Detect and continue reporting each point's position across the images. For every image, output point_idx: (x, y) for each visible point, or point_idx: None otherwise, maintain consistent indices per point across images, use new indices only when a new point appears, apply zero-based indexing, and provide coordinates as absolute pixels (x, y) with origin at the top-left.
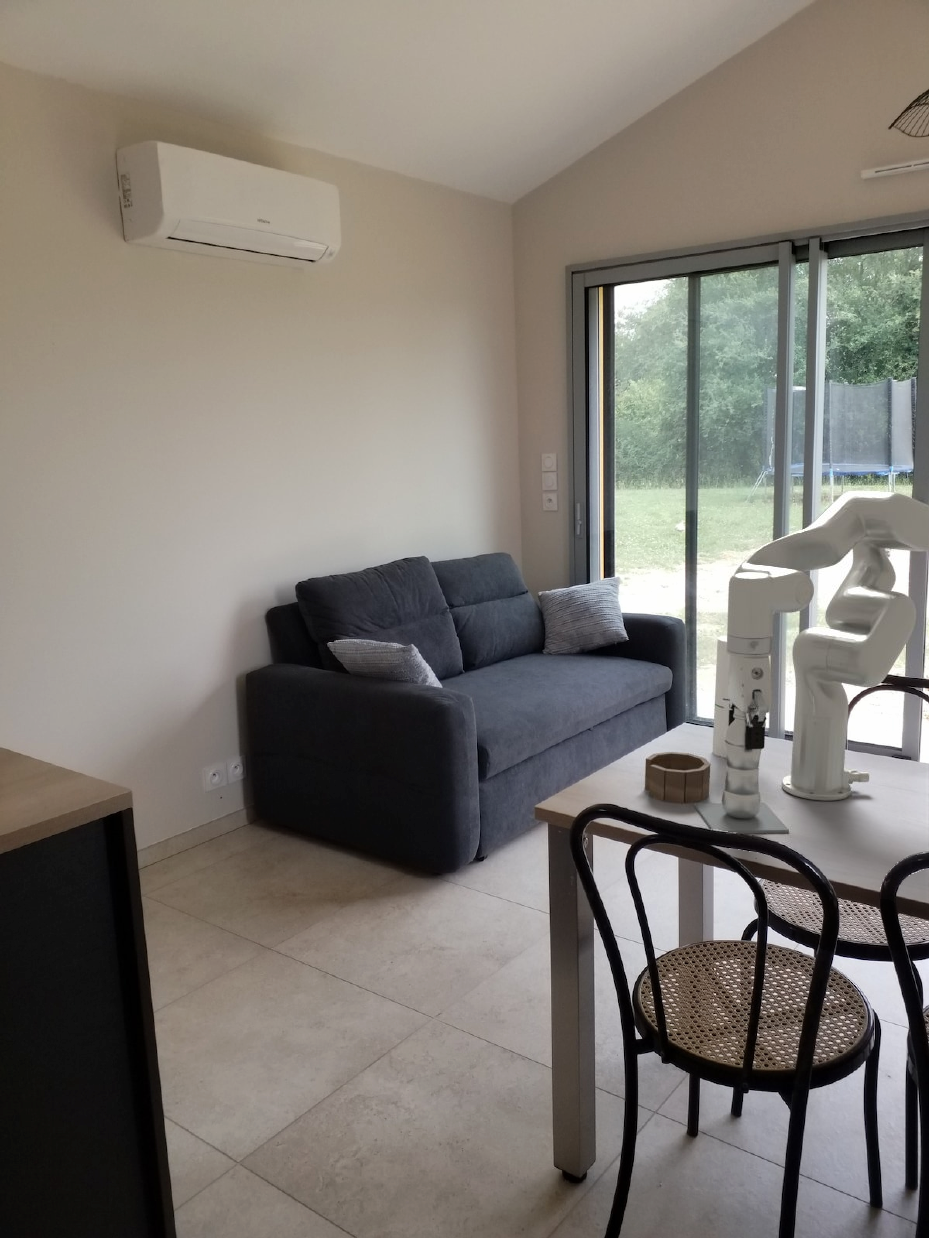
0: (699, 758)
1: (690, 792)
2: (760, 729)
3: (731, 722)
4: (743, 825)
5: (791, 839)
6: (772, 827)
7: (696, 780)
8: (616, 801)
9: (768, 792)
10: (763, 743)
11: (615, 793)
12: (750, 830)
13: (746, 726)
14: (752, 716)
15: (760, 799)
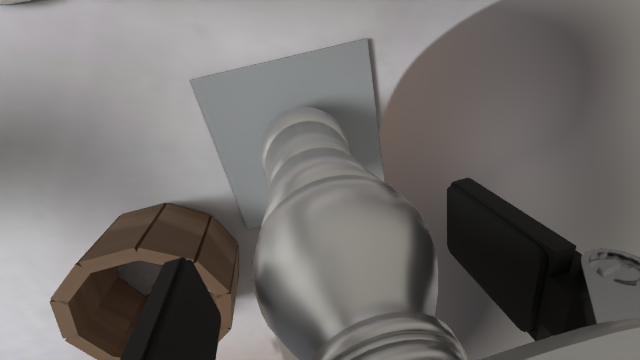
0: (87, 275)
1: (227, 248)
2: (579, 261)
3: (211, 357)
4: (353, 139)
5: (402, 38)
6: (357, 77)
7: (214, 255)
8: (262, 333)
9: (74, 56)
10: (482, 190)
11: (223, 341)
12: (377, 126)
13: (543, 336)
14: (462, 356)
15: (309, 110)
